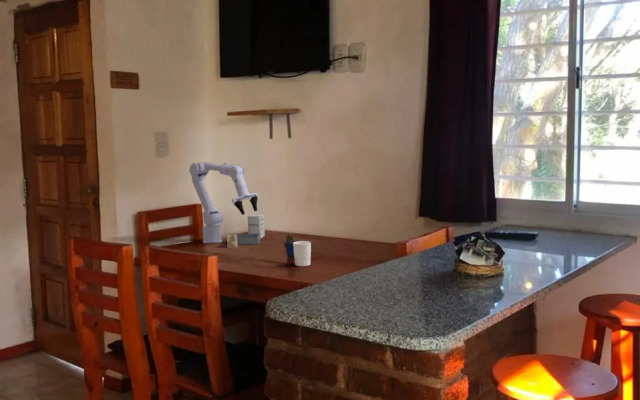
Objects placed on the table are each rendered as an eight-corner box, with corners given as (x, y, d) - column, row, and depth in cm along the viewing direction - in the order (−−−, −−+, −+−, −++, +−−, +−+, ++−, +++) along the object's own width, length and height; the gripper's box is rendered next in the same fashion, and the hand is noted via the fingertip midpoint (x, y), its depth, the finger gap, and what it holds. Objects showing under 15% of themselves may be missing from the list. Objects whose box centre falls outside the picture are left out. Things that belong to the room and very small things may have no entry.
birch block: (227, 247, 337) (226, 236, 336) (228, 246, 341) (228, 234, 341) (236, 247, 337) (235, 236, 336) (237, 245, 341) (236, 234, 341)
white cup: (301, 262, 297) (301, 240, 295) (315, 264, 292) (314, 241, 290) (290, 265, 291) (289, 243, 289) (303, 267, 286) (302, 244, 284)
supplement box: (247, 238, 362) (246, 215, 361) (253, 235, 369) (252, 213, 368) (260, 238, 360) (259, 215, 359) (265, 236, 367) (264, 213, 366)
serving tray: (227, 245, 343) (227, 238, 343) (231, 240, 357) (231, 234, 356) (258, 244, 343) (257, 237, 342) (260, 239, 357) (260, 233, 356)
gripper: (232, 189, 333) (241, 214, 332) (256, 183, 341) (264, 207, 341) (227, 192, 339) (235, 217, 338) (250, 186, 347) (258, 210, 346)
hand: (249, 212), depth 340 cm, fingers open, 7 cm apart
